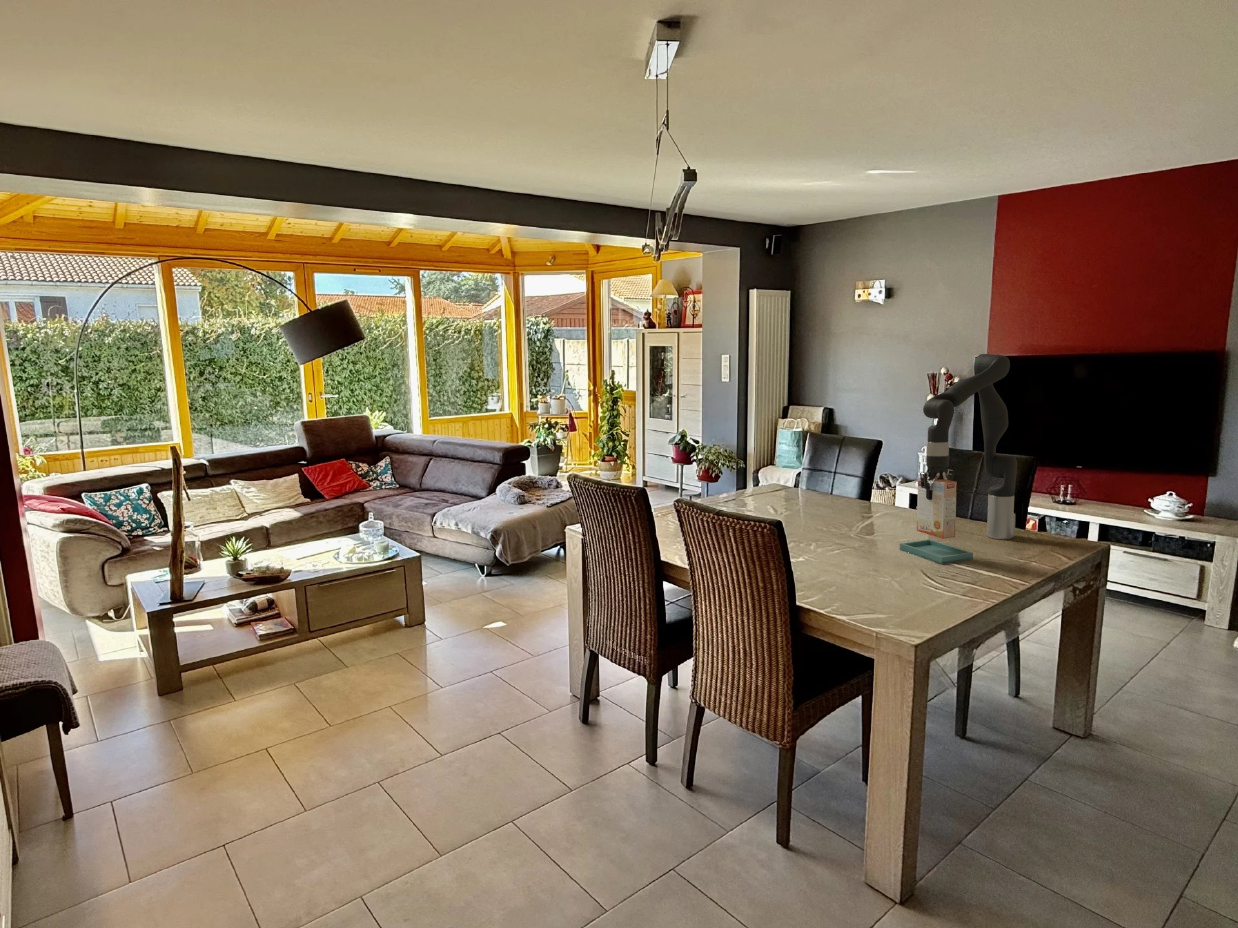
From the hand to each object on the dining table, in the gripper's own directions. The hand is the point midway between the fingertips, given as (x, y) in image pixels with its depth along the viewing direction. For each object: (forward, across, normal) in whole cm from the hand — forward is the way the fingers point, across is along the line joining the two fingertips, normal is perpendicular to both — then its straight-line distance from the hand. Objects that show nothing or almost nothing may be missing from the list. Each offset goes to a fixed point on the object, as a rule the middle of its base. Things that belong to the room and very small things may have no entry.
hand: (936, 498), depth 271 cm
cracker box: (+14, 0, 0) cm, 14 cm away
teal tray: (+21, 0, 0) cm, 21 cm away
